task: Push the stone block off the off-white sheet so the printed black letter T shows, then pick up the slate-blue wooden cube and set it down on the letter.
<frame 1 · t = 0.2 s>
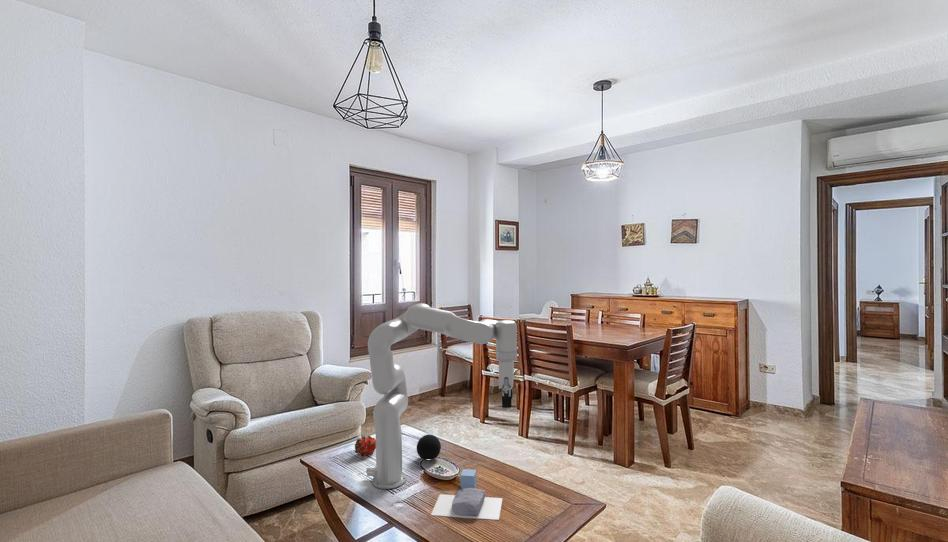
hand: (507, 403, 161), 31 cm above the table, tool pointing down, fingers open, 9 cm apart
blue cube: (468, 486, 163), on the table
decorative ball: (428, 459, 186), on the table
letter sheet: (467, 506, 149), on the table
stone block: (467, 506, 149), on the table, touching letter sheet
dragon fruit: (366, 454, 192), on the table
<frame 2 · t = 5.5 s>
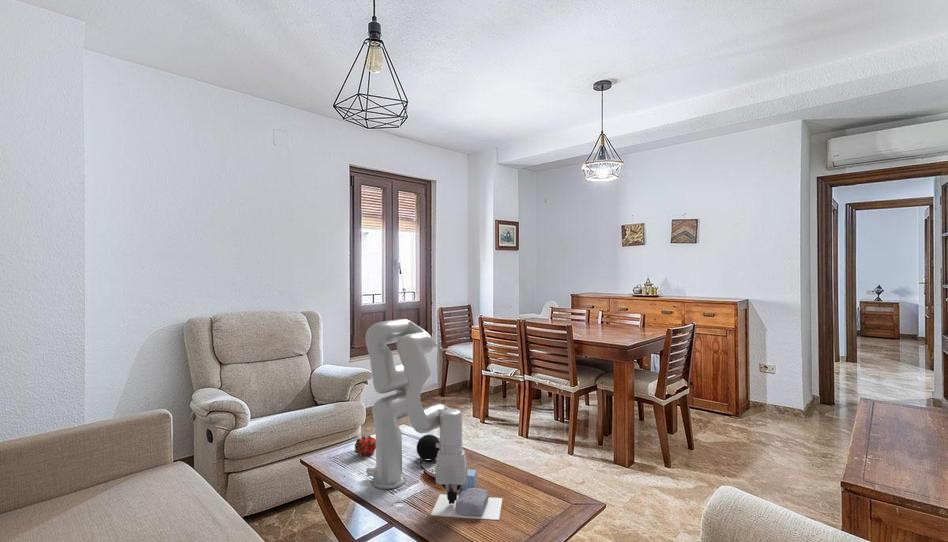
hand: (452, 501, 150), 1 cm above the table, tool pointing down, fingers closed
stone block: (471, 506, 149), on the table, touching gripper
everything else where it was.
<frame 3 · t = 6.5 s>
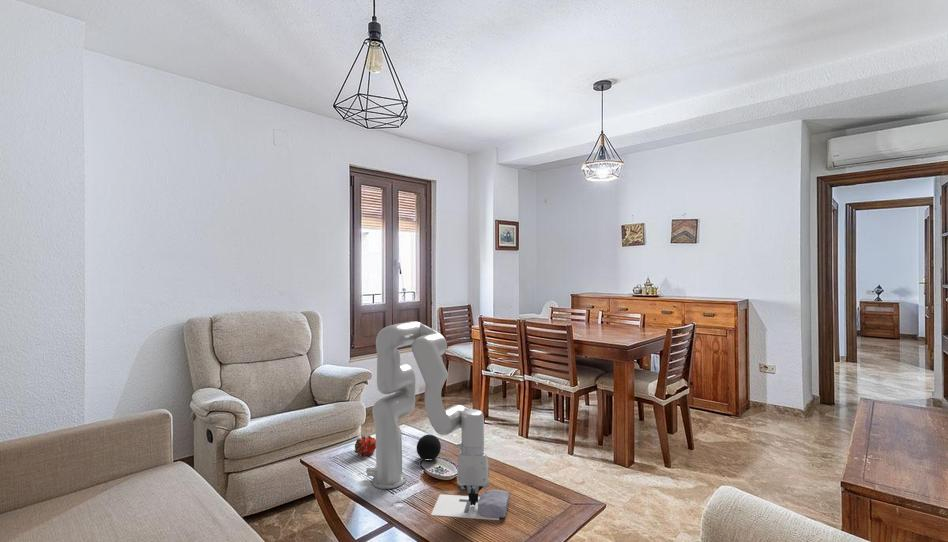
hand: (473, 503, 149), 1 cm above the table, tool pointing down, fingers closed
stone block: (493, 508, 148), on the table, touching gripper
everything else where it was.
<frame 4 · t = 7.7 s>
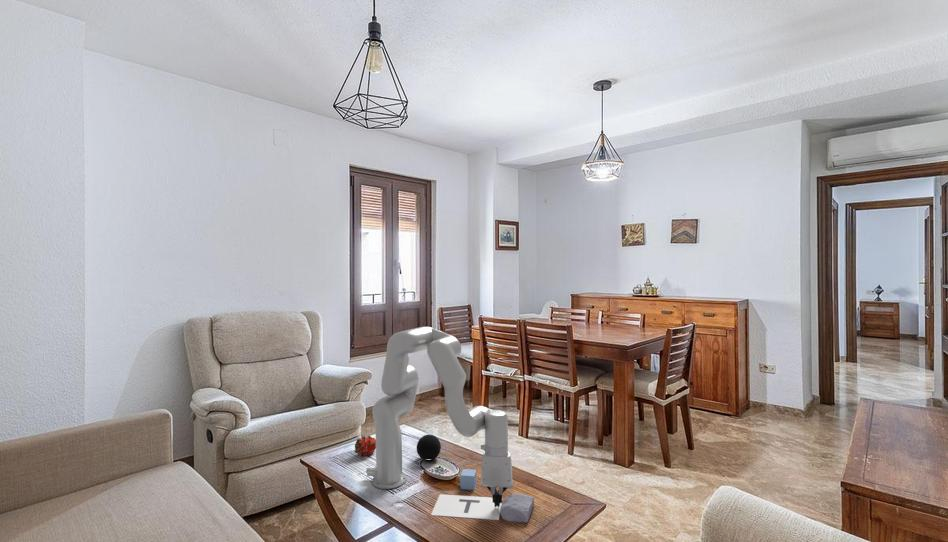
hand: (497, 504, 148), 1 cm above the table, tool pointing down, fingers closed
stone block: (516, 512, 146), on the table
everything else where it was.
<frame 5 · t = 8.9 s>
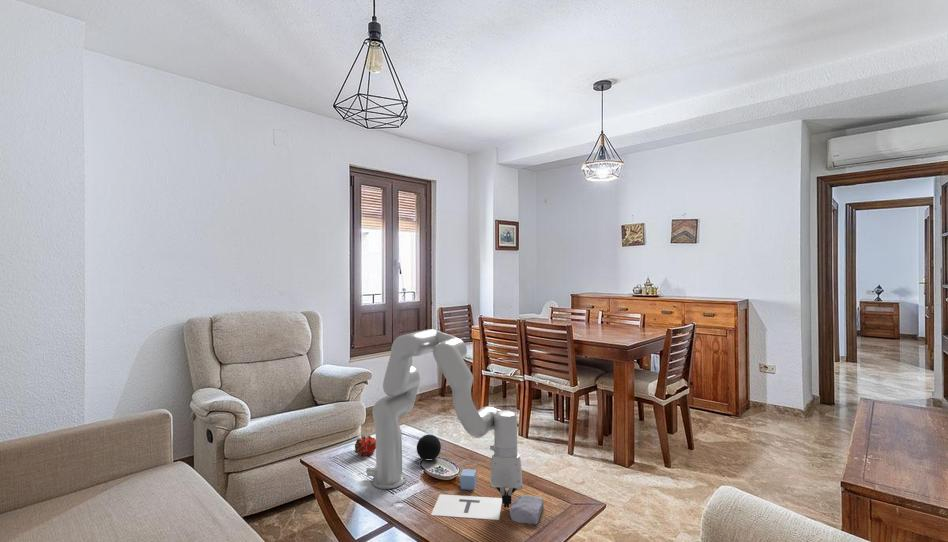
hand: (506, 505, 147), 1 cm above the table, tool pointing down, fingers closed
stone block: (526, 514, 145), on the table
everything else where it was.
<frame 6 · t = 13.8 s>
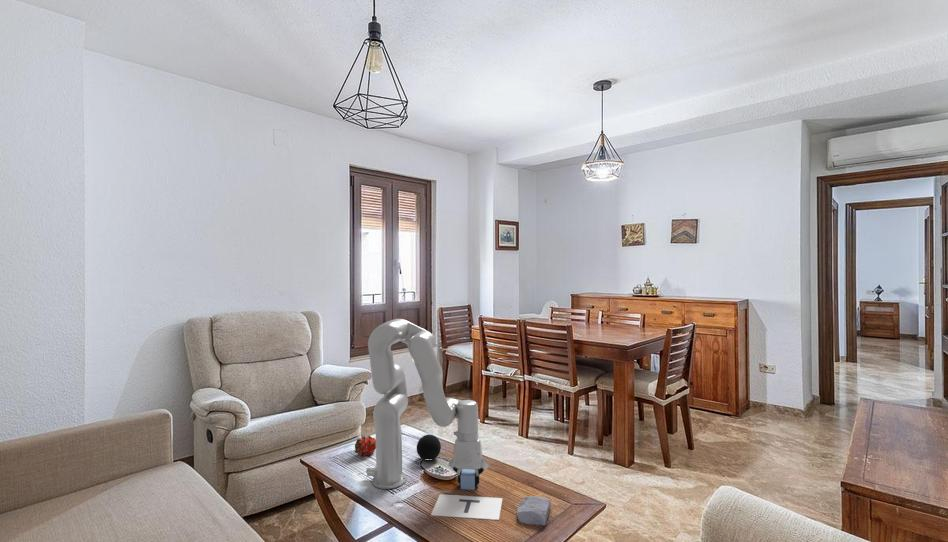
hand: (468, 484, 163), 0 cm above the table, tool pointing down, fingers closed on blue cube, 5 cm apart
blue cube: (468, 485, 164), on the table, touching gripper
stone block: (533, 515, 144), on the table
everything else where it was.
when the fingers open (2 cm above the table, at t = 19.5 s): blue cube drops 2 cm, resting on letter sheet.
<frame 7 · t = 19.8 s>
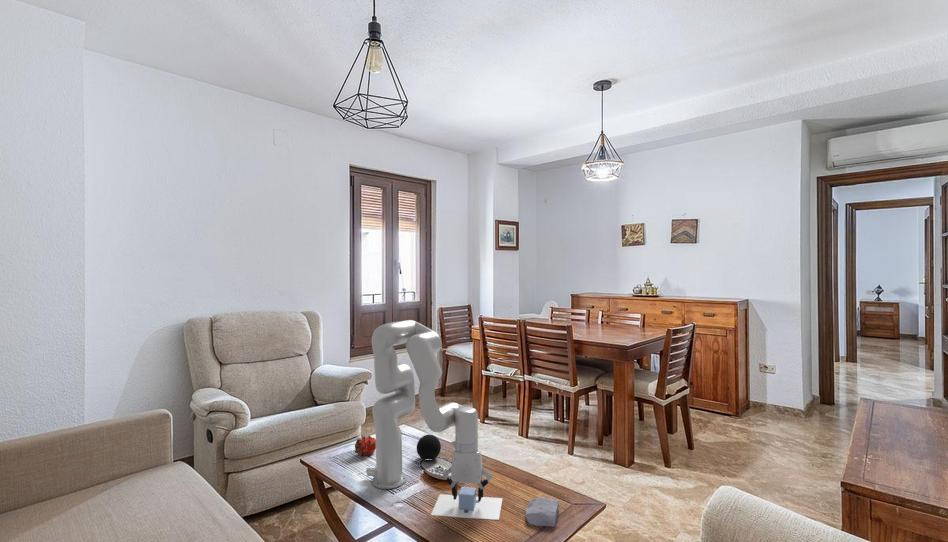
hand: (467, 498, 149), 3 cm above the table, tool pointing down, fingers open, 7 cm apart
blue cube: (467, 505, 149), resting on letter sheet
stone block: (541, 517, 144), on the table
everything else where it was.
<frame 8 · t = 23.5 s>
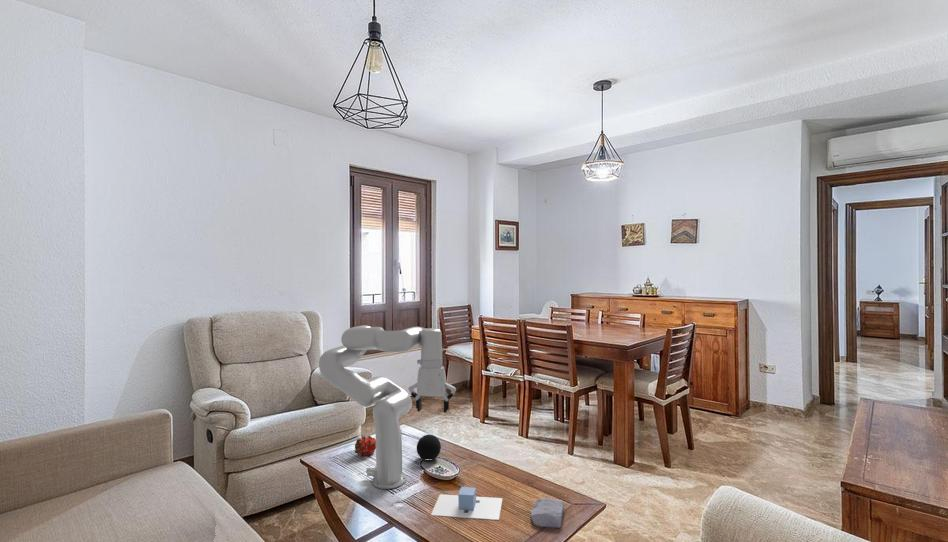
hand: (432, 410, 161), 28 cm above the table, tool pointing down, fingers open, 9 cm apart
stone block: (547, 517, 143), on the table
everything else where it was.
at the end: blue cube 0.1 cm off-centre on the letter sheet, point 0.3 cm above the letter sheet's base; blue cube tilted 0°; stone block inside the target area on the table beside the letter sheet (6.0 cm from its centre), on the table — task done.
